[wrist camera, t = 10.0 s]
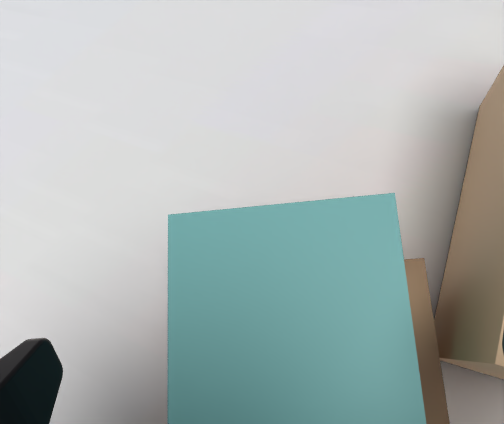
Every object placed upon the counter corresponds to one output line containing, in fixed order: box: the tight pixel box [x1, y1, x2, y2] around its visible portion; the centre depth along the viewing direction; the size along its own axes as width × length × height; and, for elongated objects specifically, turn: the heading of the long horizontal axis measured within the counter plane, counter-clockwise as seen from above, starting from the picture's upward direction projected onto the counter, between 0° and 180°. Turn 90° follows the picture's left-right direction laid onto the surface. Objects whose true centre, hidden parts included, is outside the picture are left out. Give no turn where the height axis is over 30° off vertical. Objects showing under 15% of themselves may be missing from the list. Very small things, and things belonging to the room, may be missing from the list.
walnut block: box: [404, 258, 450, 424], centre depth 17 cm, size 10×9×4 cm
